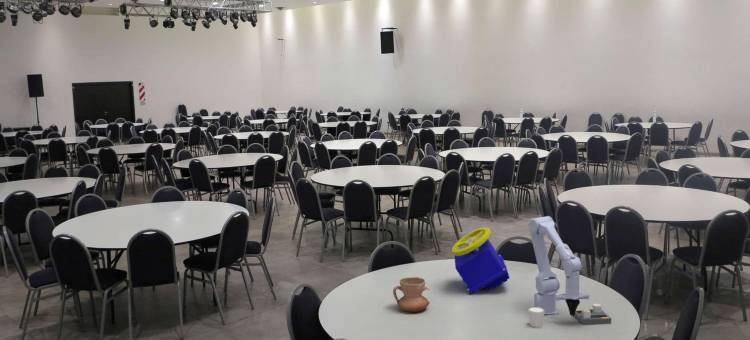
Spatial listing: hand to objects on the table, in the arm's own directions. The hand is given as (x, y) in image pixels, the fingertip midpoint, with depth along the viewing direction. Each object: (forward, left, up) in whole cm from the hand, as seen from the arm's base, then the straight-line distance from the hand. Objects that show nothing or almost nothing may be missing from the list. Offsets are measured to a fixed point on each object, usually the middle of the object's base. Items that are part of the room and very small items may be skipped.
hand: (572, 315), depth 270 cm
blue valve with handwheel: (-30, +49, -4) cm, 57 cm away
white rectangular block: (+6, 0, -2) cm, 7 cm away
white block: (+14, +6, -2) cm, 15 cm away
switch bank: (+10, +3, -4) cm, 11 cm away
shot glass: (-16, 0, -4) cm, 16 cm away
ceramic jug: (-68, +26, -4) cm, 73 cm away
